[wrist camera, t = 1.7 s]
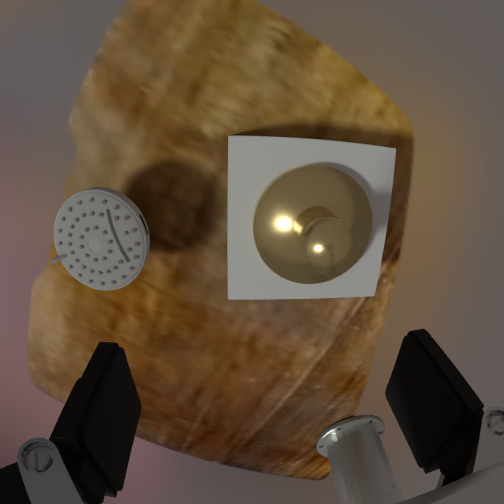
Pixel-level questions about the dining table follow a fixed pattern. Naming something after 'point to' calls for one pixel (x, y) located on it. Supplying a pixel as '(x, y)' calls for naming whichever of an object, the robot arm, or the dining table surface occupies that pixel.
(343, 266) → the end cover
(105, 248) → the showerhead
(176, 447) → the dining table surface
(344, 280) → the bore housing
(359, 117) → the dining table surface
